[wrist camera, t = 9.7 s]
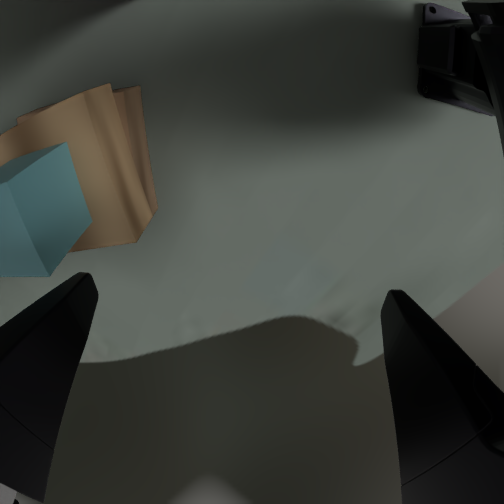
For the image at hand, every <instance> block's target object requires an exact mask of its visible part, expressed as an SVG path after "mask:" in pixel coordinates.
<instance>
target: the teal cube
mask: <svg viewBox="0 0 504 504" xmlns="http://www.w3.org/2000/svg"><path fill="white" fill-rule="evenodd" d="M92 222H93V221H92V218H91V216H90V213H89V210H88V207H87V205H86V202H85V199H84V196H83V193H82V190H81V187H80V184H79V181H78V178H77V175H76V172H75V168H74V165H73V162H72V158H71V155H70V152H69V148H68V145H67V142H63V143H60V144H57V145H53V146H50V147H47V148H44V149H41V150H38V151H35V152H32V153H29V154H26V155H23V156H20V157H18V158H15V159H12V160H10V161H8V162H7V163H5V164H4V165H2V166H1V167H0V277H50V275H51V274H52V273H53V271H54V270H55V268H56V267H57V266H58V264H59V263H60V262H61V260H62V259H63V258H64V257H65V255H66V254H67V253H68V251H69V250H70V249H71V248H72V246H73V245H74V244H75V242H76V241H77V240H78V239H79V237H80V236H81V235H82V234H83V233H84V231H85V230H86V229H87V228H88V227H89V225H90V224H91V223H92Z"/></svg>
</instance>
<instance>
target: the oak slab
mask: <svg viewBox="0 0 504 504" xmlns="http://www.w3.org/2000/svg"><path fill="white" fill-rule="evenodd" d="M63 142H67V145H68V148H69V152H70V155H71V158H72V162H73V165H74V168H75V172H76V175H77V178H78V181H79V184H80V187H81V190H82V193H83V196H84V199H85V202H86V205H87V207H88V210H89V213H90V216H91V218H92V221H93V222H92V223H91V224H90V225H89V227H88V228H87V229H86V230H85V231H84V233H83V234H82V235H81V236H80V237H79V239H78V240H77V241H76V242H75V244H74V245H73V246H72V248H71V249H70V250H69V251H68V253H69V252H75V251H82V250H88V249H95V248H101V247H108V246H115V245H122V244H129V243H136V242H137V241H138V239H139V237H140V236H141V234H142V233H143V231H144V229H145V228H146V226H147V225H148V223H149V221H150V220H151V218H152V217H153V215H152V213H151V210H150V207H149V204H148V202H147V199H146V196H145V193H144V190H143V187H142V185H141V182H140V179H139V176H138V173H137V170H136V167H135V164H134V161H133V158H132V155H131V152H130V149H129V146H128V143H127V139H126V136H125V133H124V130H123V127H122V123H121V120H120V117H119V113H118V110H117V106H116V103H115V99H114V96H113V92H112V89H111V85H110V83H108V84H105V85H102V86H99V87H96V88H92V89H89V90H87V91H84V92H81V93H79V94H77V95H74V96H72V97H70V98H68V99H66V100H64V101H62V102H60V103H58V104H56V105H53V106H52V107H50V108H48V109H46V110H44V111H42V112H40V113H38V114H36V115H34V116H32V117H31V118H29V119H27V120H25V121H23V122H22V123H20V124H18V125H16V126H15V127H13V128H11V129H10V130H8V131H6V132H5V133H3V134H2V135H0V167H1V166H2V165H4V164H5V163H7V162H8V161H10V160H12V159H15V158H18V157H20V156H23V155H26V154H29V153H32V152H35V151H38V150H41V149H44V148H47V147H50V146H53V145H57V144H60V143H63Z"/></svg>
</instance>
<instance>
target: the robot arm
mask: <svg viewBox="0 0 504 504" xmlns="http://www.w3.org/2000/svg"><path fill="white" fill-rule="evenodd" d="M462 5H463V7H464V9H465V11H466V12H468V14H469V16H470V17H469V16H466V15H464V14H461V13H459V12H456V11H454V10H451V9H448V8H446V7H443V6H440V5H437V4H434V3H426V4H425V5H424V6H423V22H422V27H420V28H419V44H418V58H417V64H418V65H419V67H420V68H419V78H418V87H417V88H418V92H419V94H420V95H421V96H423V97H426V98H430V99H434V100H438V101H442V102H446V103H450V104H453V105H457V106H460V107H464V108H467V109H471V110H474V111H477V112H480V113H483V114H486V115H489V116H496V119H497V124H498V128H499V133H500V138H501V144H502V149H503V155H504V0H468V1H464V2H462ZM429 7H431V8H432V9H433V13H431V12H430V11H429ZM425 86H427V88H428V91H427V92H426V93H424V91H423V89H424V87H425ZM97 302H98V291H97V288H96V285H95V283H94V280H93V277H92V275H91V274H90V273H85V272H79V273H77V274H75V275H74V276H72V277H71V278H69V279H68V280H66V281H65V282H63V283H62V284H60V285H59V286H57V287H56V288H54V289H53V290H51V291H50V292H48V293H47V294H45V295H44V296H43V297H41V298H40V299H38V300H37V301H35V302H34V303H33V304H31V305H30V306H28V307H27V308H26V309H24V310H23V311H21V312H20V313H19V314H17V315H16V316H14V317H13V318H12V319H10V320H9V321H8V322H6V323H5V324H4V325H2V326H1V327H0V504H19V502H18V501H17V500H16V499H15V495H16V492H19V493H21V494H23V495H25V496H28V497H30V498H32V499H35V500H37V501H39V502H41V503H43V502H44V499H45V493H46V487H47V482H48V477H49V472H50V467H51V462H52V458H53V454H54V448H55V444H56V440H57V436H58V432H59V428H60V425H61V421H62V417H63V414H64V409H65V406H66V403H67V400H68V396H69V393H70V389H71V387H72V383H73V380H74V377H75V374H76V371H77V368H78V365H79V362H80V359H81V356H82V353H83V350H84V348H85V345H86V342H87V339H88V335H89V331H90V327H91V324H92V320H93V316H94V312H95V309H96V305H97ZM381 325H382V336H383V348H384V359H385V366H386V372H387V377H388V383H389V389H390V395H391V402H392V408H393V415H394V422H395V430H396V438H397V446H398V456H399V466H400V478H401V485H402V486H401V494H402V504H504V393H503V392H502V391H501V390H500V389H499V388H498V387H497V386H496V385H495V384H494V383H493V381H492V380H491V379H490V378H489V377H488V376H487V375H486V374H485V373H484V372H483V371H482V370H481V369H480V368H479V366H476V363H475V362H474V361H473V360H472V359H471V358H470V357H469V356H468V355H467V354H466V353H465V352H464V351H463V350H462V348H460V346H459V345H458V344H457V343H456V342H455V341H454V340H453V339H452V338H451V337H450V336H449V335H448V334H447V333H446V332H445V331H444V330H443V329H442V328H441V327H440V326H439V325H438V324H437V323H436V322H435V321H434V320H433V319H432V318H431V317H430V316H429V315H428V314H427V313H426V312H425V311H424V310H423V309H422V308H421V307H420V306H419V305H418V304H417V303H416V302H415V301H414V300H413V299H412V298H411V297H409V296H408V295H407V294H406V293H405V292H404V291H403V290H389V291H388V293H387V296H386V298H385V301H384V304H383V306H382V309H381Z"/></svg>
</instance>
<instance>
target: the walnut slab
mask: <svg viewBox="0 0 504 504" xmlns="http://www.w3.org/2000/svg"><path fill="white" fill-rule="evenodd" d="M112 92H113V96H114V99H115V103H116V106H117V110H118V113H119V117H120V120H121V123H122V127H123V130H124V133H125V136H126V139H127V143H128V146H129V149H130V152H131V155H132V158H133V161H134V164H135V167H136V170H137V173H138V176H139V179H140V182H141V185H142V187H143V190H144V193H145V196H146V199H147V202H148V204H149V207H150V210H151V213H152V215H154V214H155V212H156V211H157V209H158V205H157V199H156V194H155V188H154V182H153V176H152V170H151V164H150V158H149V151H148V144H147V137H146V130H145V122H144V114H143V106H142V98H141V88H140V86H133V87H127V88H122V89H116V90H112ZM59 103H60V102H59ZM56 104H58V103H56ZM56 104H52V105H49V106H45V107H42V108H39V109H36V110H34V111H31V112H29V113H27V114H24V115H22V116H20V117H18V118H17V123H18V124H20V123H22V122H23V121H25V120H27V119H29V118H31V117H32V116H34V115H36V114H38V113H40V112H42V111H44V110H46V109H48V108H50V107H52V106H53V105H56ZM151 219H152V218H151ZM149 222H150V221H149Z"/></svg>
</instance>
